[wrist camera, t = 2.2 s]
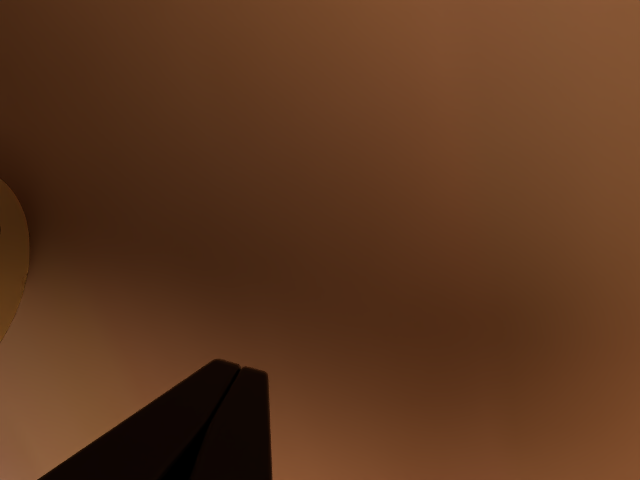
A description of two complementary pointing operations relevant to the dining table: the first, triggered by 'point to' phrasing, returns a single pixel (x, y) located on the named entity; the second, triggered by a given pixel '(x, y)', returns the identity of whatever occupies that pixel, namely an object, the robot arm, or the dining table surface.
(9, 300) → the lynch pin
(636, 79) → the dining table surface
